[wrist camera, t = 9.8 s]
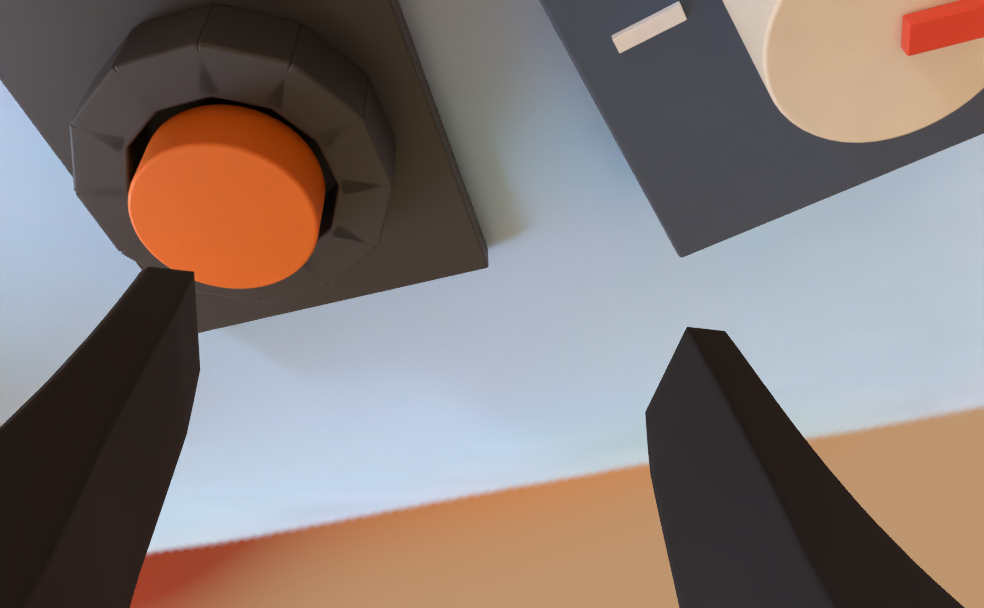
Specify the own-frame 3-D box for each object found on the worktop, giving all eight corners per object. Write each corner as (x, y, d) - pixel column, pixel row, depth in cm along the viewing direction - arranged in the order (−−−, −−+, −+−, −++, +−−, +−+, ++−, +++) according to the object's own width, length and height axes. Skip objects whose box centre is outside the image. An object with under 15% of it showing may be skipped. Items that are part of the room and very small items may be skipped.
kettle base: (-60, -37, 19) (-117, 19, 17) (339, -163, 17) (325, -116, 15) (195, 316, 26) (176, 382, 24) (488, 249, 25) (491, 314, 23)
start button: (109, 128, 19) (87, 170, 18) (280, 82, 18) (270, 122, 17) (199, 262, 22) (185, 305, 20) (351, 225, 21) (346, 268, 20)
